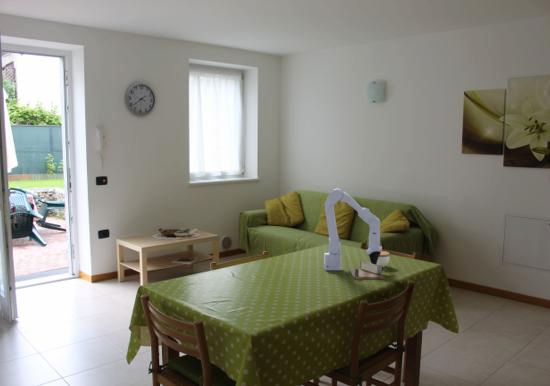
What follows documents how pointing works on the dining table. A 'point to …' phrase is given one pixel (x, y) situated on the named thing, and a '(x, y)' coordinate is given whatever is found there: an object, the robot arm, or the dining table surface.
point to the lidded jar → (383, 258)
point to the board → (364, 274)
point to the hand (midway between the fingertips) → (373, 265)
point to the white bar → (371, 267)
